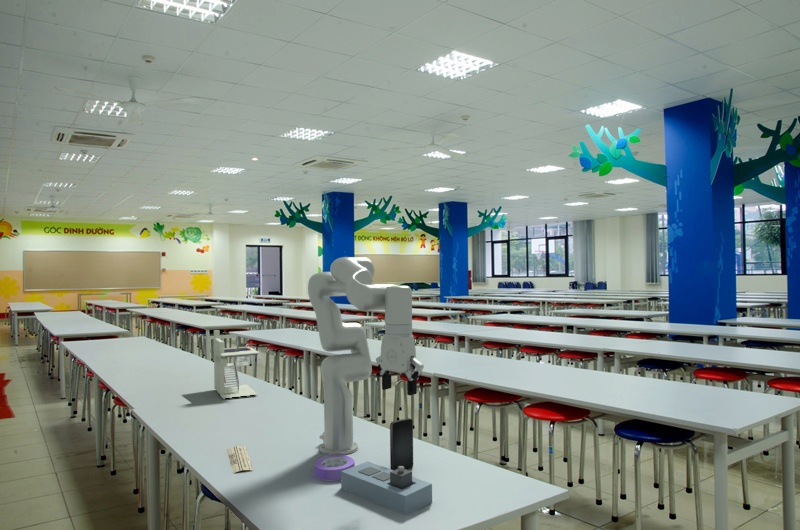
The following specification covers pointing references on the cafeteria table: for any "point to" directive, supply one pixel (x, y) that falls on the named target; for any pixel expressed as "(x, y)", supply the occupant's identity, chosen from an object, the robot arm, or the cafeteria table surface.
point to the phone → (401, 444)
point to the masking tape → (332, 467)
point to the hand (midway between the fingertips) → (399, 391)
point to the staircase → (221, 364)
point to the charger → (401, 478)
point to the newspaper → (239, 459)
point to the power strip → (385, 488)
